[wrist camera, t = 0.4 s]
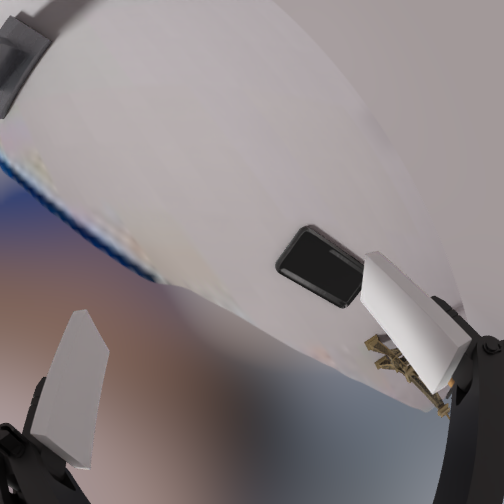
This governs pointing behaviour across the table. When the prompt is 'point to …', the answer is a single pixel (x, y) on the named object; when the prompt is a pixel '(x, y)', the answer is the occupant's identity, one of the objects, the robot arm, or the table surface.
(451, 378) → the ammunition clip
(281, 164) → the table surface
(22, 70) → the jack stand base
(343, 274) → the phone
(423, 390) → the eiffel tower
